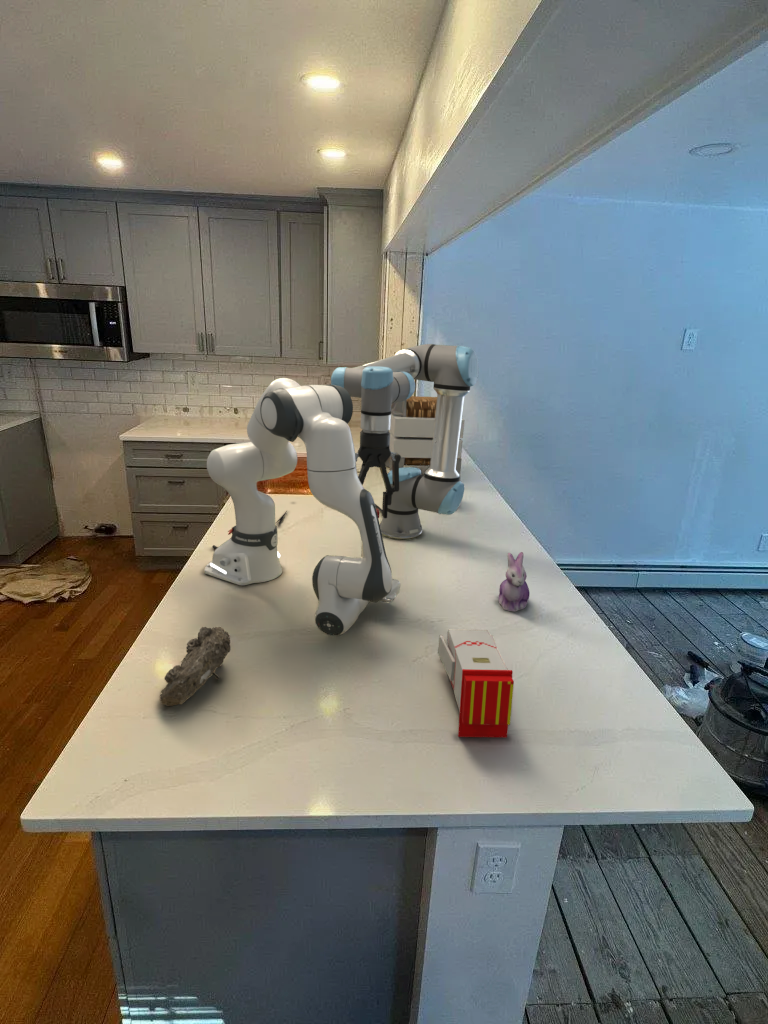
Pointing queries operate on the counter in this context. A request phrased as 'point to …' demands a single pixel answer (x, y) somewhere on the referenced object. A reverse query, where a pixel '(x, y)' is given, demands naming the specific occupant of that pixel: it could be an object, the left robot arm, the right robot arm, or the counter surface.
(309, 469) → the left robot arm
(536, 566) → the counter surface
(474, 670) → the toy
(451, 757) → the counter surface
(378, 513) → the cap
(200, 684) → the fossil
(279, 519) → the feather
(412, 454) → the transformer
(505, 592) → the figurine
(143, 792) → the counter surface
